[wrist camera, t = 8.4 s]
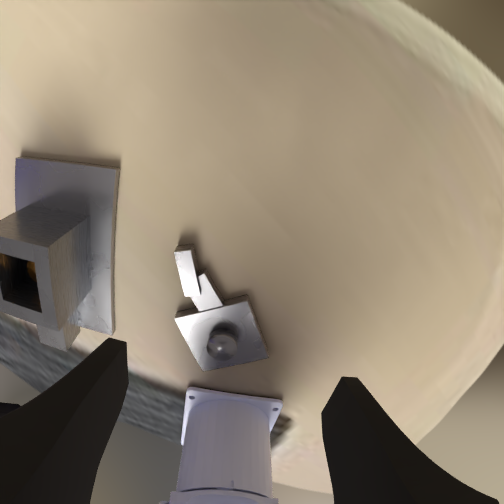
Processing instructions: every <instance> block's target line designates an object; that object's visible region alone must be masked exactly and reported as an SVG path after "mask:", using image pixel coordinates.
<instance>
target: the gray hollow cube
mask: <svg viewBox="0 0 504 504" xmlns="http://www.w3.org/2000/svg"><path fill="white" fill-rule="evenodd" d="M90 218H91V216H89V215H83V214H77V213H71V212H65V211H59V210H53V209H47V208H41V207H36V206H30V205H28V206H26V207H24V208H22V209H20V210H18V211H16V212H15V213H13V214H11V215H9V216H7V217H5V218H4V219H2V220H0V311H2V312H4V313H7V314H9V315H12V316H15V317H17V318H20V319H23V320H25V321H28V322H31V323H34V324H37V325H40V326H43V327H46V328H49V329H52V330H55V331H58V332H59V331H60V330H61V328H62V327H63V326H64V324H65V323H66V322H67V320H68V319H69V318H70V316H71V315H72V314H73V312H74V311H75V310H76V308H77V307H78V306H79V305H80V303H81V302H82V301H83V299H84V298H85V297H86V296H87V294H88V293H89V292H90V291H91V289H92V279H91V249H90ZM28 261H32V262H35V271H36V278H37V282H35V281H34V280H33V279H32V278H31V277H30V276H29V274H28V271H27V263H28Z"/></svg>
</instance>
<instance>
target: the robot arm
mask: <svg viewBox="0 0 504 504" xmlns="http://www.w3.org/2000/svg"><path fill="white" fill-rule="evenodd" d="M128 384H129V381H128V366H127V343H126V342H124V341H120V340H117V339H113V338H108V339H106V340H105V341H104V342H103V343H102V344H101V345H100V346H99V347H98V348H96V349H95V350H94V351H93V352H92V353H91V354H90V355H89V356H88V357H86V358H85V359H84V360H83V361H82V362H81V363H80V364H78V365H77V366H76V367H75V368H74V369H72V370H71V371H70V372H69V373H68V374H67V375H65V376H64V377H63V378H62V379H60V380H59V381H58V382H56V383H55V384H54V385H52V386H51V387H50V388H48V389H47V390H46V391H44V392H43V393H41V394H40V395H38V396H37V397H35V398H34V399H33V400H31V401H29V402H28V403H26V404H24V405H23V406H21V407H19V408H17V409H16V410H14V411H12V412H10V413H8V414H6V415H4V416H2V417H0V504H90V499H91V495H92V490H93V486H94V482H95V477H96V474H97V469H98V466H99V463H100V460H101V458H102V455H103V453H104V450H105V448H106V445H107V443H108V440H109V438H110V435H111V433H112V430H113V428H114V426H115V423H116V421H117V418H118V416H119V414H120V411H121V409H122V405H123V402H124V398H125V395H126V391H127V387H128ZM282 407H283V402H282V400H280V399H272V398H263V397H254V396H247V395H239V394H233V393H226V392H220V391H214V390H208V389H202V388H197V387H189V388H187V391H186V399H185V408H184V417H183V427H182V436H181V444H182V445H183V451H182V456H181V463H180V469H179V475H178V482H177V489H176V492H174V491H171V495H170V501H169V502H168V501H161V502H160V503H158V504H278V499H277V498H273V488H272V468H271V449H270V432H271V430H272V428H273V426H274V424H275V422H276V420H277V417H278V415H279V413H280V411H281V409H282ZM321 416H322V434H323V442H324V447H325V452H326V457H327V462H328V467H329V472H330V477H331V482H332V488H333V495H334V504H499V502H498V500H497V499H494V498H492V497H490V496H487V495H485V494H483V493H481V492H479V491H476V490H475V489H473V488H471V487H469V486H467V485H466V484H464V483H462V482H461V481H459V480H457V479H456V478H454V477H453V476H451V475H450V474H449V473H447V472H446V471H444V470H443V469H442V468H440V467H439V466H438V465H437V464H435V463H434V462H433V461H432V460H431V459H429V458H428V457H427V456H426V455H425V454H424V453H423V452H422V451H421V450H419V449H418V448H417V447H416V446H415V445H414V444H413V443H412V442H411V441H410V439H409V438H408V437H407V436H406V435H405V434H404V433H403V432H402V431H401V430H400V429H399V428H398V426H397V425H396V424H395V423H394V422H393V421H392V419H391V418H390V417H389V416H388V415H387V413H386V412H385V411H384V410H383V408H382V407H381V406H380V405H379V403H378V402H377V401H376V400H375V398H374V397H373V396H372V395H371V393H370V392H369V391H368V390H367V388H366V387H365V386H364V385H363V383H362V382H361V381H360V380H359V379H358V378H356V377H341V379H340V381H339V383H338V385H337V386H336V388H335V390H334V392H333V394H332V395H331V397H330V399H329V401H328V402H327V404H326V406H325V407H324V409H323V411H322V413H321Z"/></svg>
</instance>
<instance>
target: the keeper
mask: <svg viewBox="0 0 504 504" xmlns="http://www.w3.org/2000/svg"><path fill="white" fill-rule="evenodd" d="M119 173H120V168H117V167H110V166H102V165H95V164H87V163H79V162H70V161H61V160H52V159H42V158H32V157H17V158H16V166H15V203H16V211H18V210H20V209H22V208H24V207H26V206H28V205H30V206H36V207H41V208H47V209H53V210H59V211H65V212H71V213H77V214H83V215H89V216H91V218H90V249H91V279H92V289H91V291H90V292H89V293H88V294H87V296H86V297H85V298H84V299H83V301H82V302H81V303H80V305H79V306H78V307H77V308H76V310H75V311H74V312H73V314H72V315H71V316H70V318H69V319H68V320H67V322H66V323H65V324H64V326H63V327H62V328H61V330H60V331H59V332H58V331H55V330H52V329H49V328H46V327H43V326H40V325H37V324H36V325H37V329H38V334H39V338H40V342H41V343H44V344H46V345H49V346H52V347H55V348H58V349H61V350H63V351H66V352H67V351H68V349H69V348H70V346H71V345H72V343H73V342H74V340H75V338H76V337H77V335H78V334H79V332H80V327H84V328H87V329H91V330H94V331H98V332H101V333H105V334H109V335H113V334H114V332H115V318H114V243H115V222H116V207H117V194H118V183H119ZM27 271H28V274H29V276H30V277H31V278H32V279H33V280H34V281H35V282H37V278H36V271H35V262H32V261H28V263H27Z"/></svg>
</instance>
